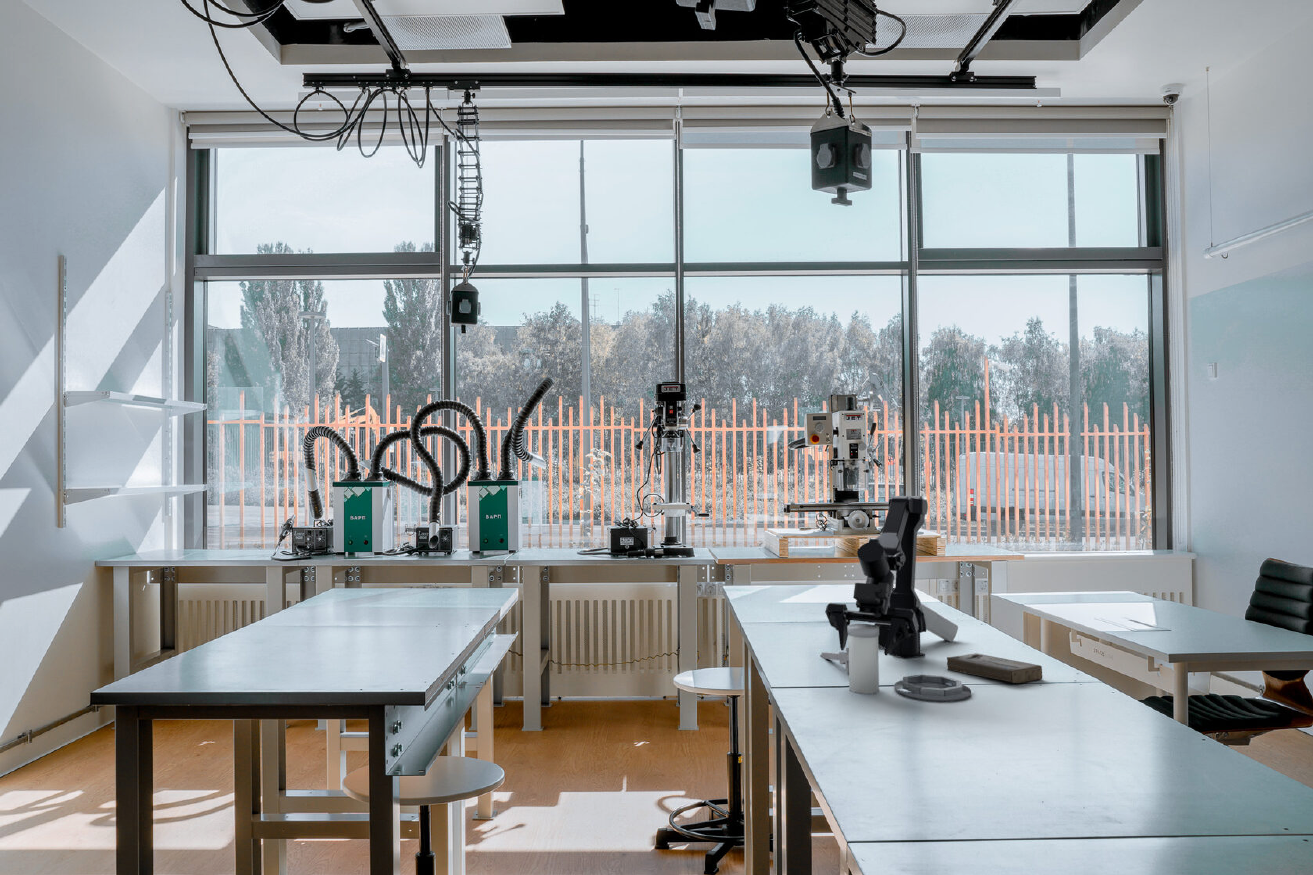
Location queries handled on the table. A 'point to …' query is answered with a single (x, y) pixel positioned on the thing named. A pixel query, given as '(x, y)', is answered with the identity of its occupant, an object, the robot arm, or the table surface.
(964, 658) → the box
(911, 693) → the collar
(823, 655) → the caliper
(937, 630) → the handheld device
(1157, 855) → the table surface
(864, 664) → the capped white cylinder
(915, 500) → the robot arm
